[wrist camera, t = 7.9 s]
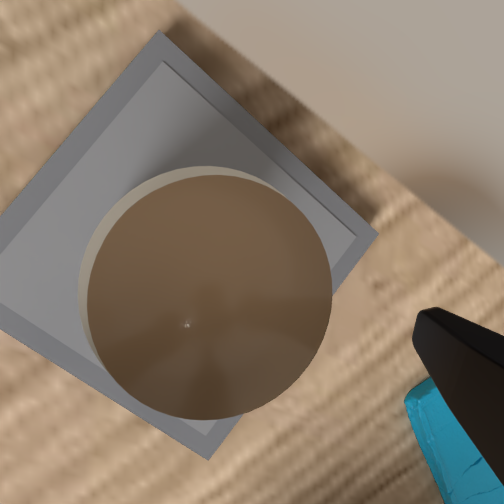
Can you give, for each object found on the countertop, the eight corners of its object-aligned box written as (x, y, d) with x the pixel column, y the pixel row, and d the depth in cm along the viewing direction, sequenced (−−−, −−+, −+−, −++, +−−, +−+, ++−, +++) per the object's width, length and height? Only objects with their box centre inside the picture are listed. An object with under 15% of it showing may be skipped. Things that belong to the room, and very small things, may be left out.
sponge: (501, 339, 23) (417, 401, 21) (560, 524, 25) (489, 593, 23) (476, 332, 24) (395, 390, 22) (534, 508, 27) (465, 573, 25)
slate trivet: (365, 232, 21) (380, 233, 20) (203, 445, 20) (208, 461, 19) (157, 41, 18) (159, 29, 16) (-49, 284, 17) (-63, 290, 15)
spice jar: (242, 243, 18) (388, 293, 8) (164, 324, 18) (217, 483, 8) (163, 161, 17) (220, 101, 7) (76, 245, 16) (3, 310, 6)
